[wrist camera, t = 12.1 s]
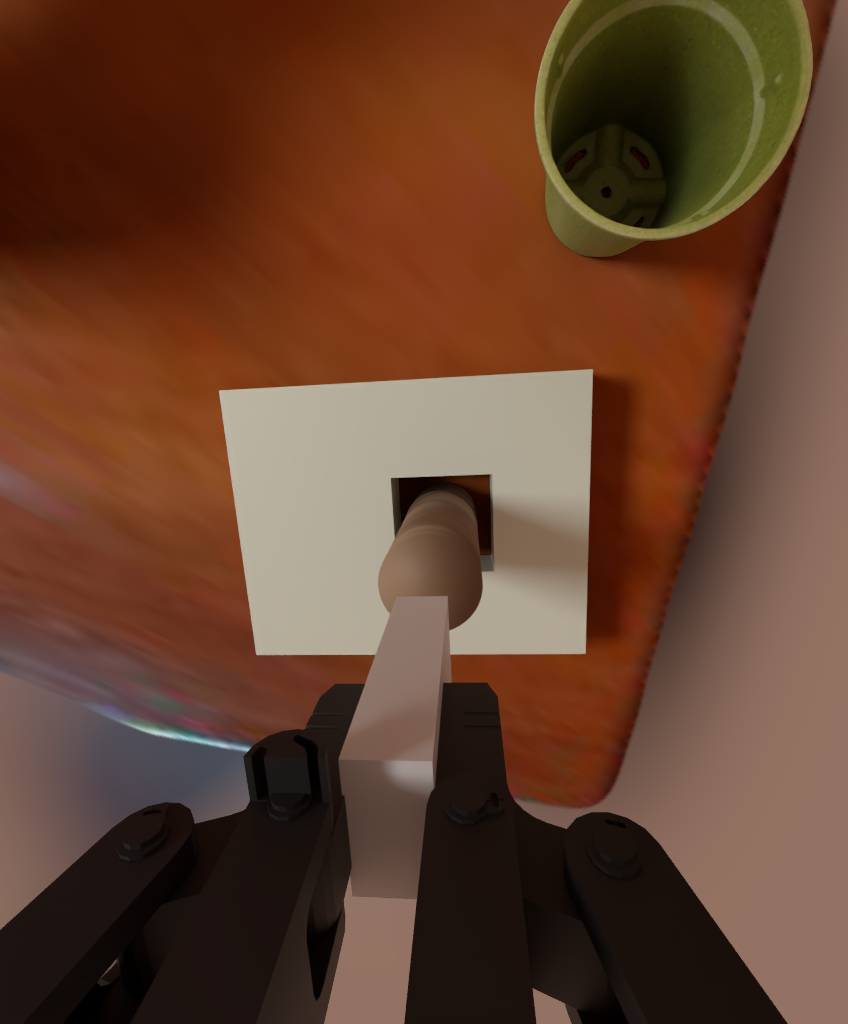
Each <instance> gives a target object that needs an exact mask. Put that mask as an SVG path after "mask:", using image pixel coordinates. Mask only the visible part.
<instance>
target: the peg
mask: <svg viewBox="0 0 848 1024" xmlns="http://www.w3.org/2000/svg"><path fill="white" fill-rule="evenodd" d="M378 588H379V594H380V597H381V600H382V602H383V605H384V606H385V608H386V610H387V611H388V612H389V613H391V611H392V608H393V605H394V602H395V599H396V597H410V596H448V613H449V630H452V629H454V628H456V627H458V626H460V625H462V624H463V623H464V622H466V621H467V620H468V619H469V618H470V617H471V616H472V615H473V613H474V612H475V610H476V609H477V607H478V605H479V603H480V600H481V596H482V591H483V581H482V570H481V560H480V550H479V540H478V520H477V516H476V509H475V504H474V502H473V500H472V498H471V496H470V495H469V493H468V492H467V491H466V490H464V489H463V488H462V487H460V486H458V485H456V484H453V483H449V482H438V483H434V484H431V485H429V486H427V487H425V488H424V489H423V490H422V491H421V492H420V493H419V494H418V495H417V497H416V498H415V500H414V502H413V504H412V505H411V507H410V508H409V510H408V512H407V515H406V518H405V520H404V522H403V524H402V526H401V528H400V529H399V531H398V533H397V535H396V537H395V539H394V541H393V543H392V545H391V547H390V549H389V551H388V553H387V555H386V557H385V559H384V561H383V563H382V565H381V568H380V571H379V577H378Z"/></svg>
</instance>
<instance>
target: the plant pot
mask: <svg viewBox="0 0 848 1024" xmlns="http://www.w3.org/2000/svg"><path fill="white" fill-rule="evenodd" d="M812 71H813V53H812V42H811V37H810V30H809V23H808V18H807V15H806V11H805V8H804V5H803V1H802V0H570V2H569V3H568V5H567V6H566V8H565V9H564V11H563V13H562V14H561V16H560V18H559V20H558V21H557V23H556V25H555V27H554V30H553V32H552V34H551V37H550V39H549V41H548V44H547V47H546V49H545V52H544V55H543V59H542V62H541V66H540V70H539V74H538V79H537V85H536V92H535V104H534V123H535V134H536V140H537V146H538V150H539V154H540V158H541V160H542V163H543V166H544V169H545V171H546V173H547V176H546V191H545V203H546V213H547V217H548V220H549V223H550V226H551V228H552V230H553V232H554V233H555V235H556V236H557V238H558V239H559V240H560V241H561V242H562V243H563V244H564V245H565V246H566V247H568V248H569V249H570V250H572V251H574V252H575V253H578V254H580V255H583V256H591V257H608V256H614V255H617V254H620V253H622V252H625V251H626V250H628V249H630V248H632V247H634V246H636V245H638V244H640V243H642V242H644V241H646V240H648V241H656V240H667V239H673V238H678V237H682V236H686V235H689V234H692V233H695V232H697V231H700V230H702V229H704V228H706V227H708V226H710V225H712V224H714V223H716V222H718V221H719V220H721V219H723V218H724V217H726V216H727V215H729V214H730V213H732V212H733V211H735V210H736V209H738V208H739V207H740V206H742V205H743V204H744V203H745V202H746V201H747V200H749V199H750V198H751V197H752V196H753V195H754V194H755V193H756V192H757V191H758V190H759V189H760V188H761V187H762V185H763V184H764V183H765V182H766V181H767V180H768V179H769V178H770V176H771V175H772V174H773V172H774V171H775V170H776V168H777V167H778V165H779V164H780V163H781V161H782V159H783V158H784V156H785V154H786V153H787V151H788V149H789V147H790V145H791V143H792V141H793V139H794V137H795V135H796V132H797V130H798V128H799V126H800V123H801V121H802V118H803V115H804V112H805V108H806V105H807V101H808V97H809V92H810V87H811V79H812ZM633 147H636V148H637V149H638V150H639V151H640V152H641V153H642V154H643V155H644V156H645V157H646V158H647V160H648V162H649V168H648V169H644V168H643V166H642V165H641V164H640V162H639V161H638V160H637V159H636V157H635V156H634V155H633V154H632V153H630V148H633ZM581 150H586V151H587V152H586V155H585V156H583V157H582V158H581V159H580V160H579V161H578V162H576V163H575V165H574V166H573V167H572V169H571V170H570V171H569V172H568V173H566V172H565V166H566V163H567V162H568V161H569V160H570V159H571V158H572V157H573V156H574V155H575V154H576V153H577V152H579V151H581ZM605 187H608V188H609V189H610V190H611V195H610V197H609V198H604V197H603V196H602V193H601V191H602V189H603V188H605ZM641 217H644V218H643V223H642V225H641V226H640V228H637V227H632V226H633V225H634V224H636V222H637V221H638V220H640V218H641Z"/></svg>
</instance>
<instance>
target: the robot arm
mask: <svg viewBox="0 0 848 1024" xmlns="http://www.w3.org/2000/svg"><path fill="white" fill-rule="evenodd" d="M244 764H245V770H246V776H247V783H248V789H249V796H250V802H249V804H248V806H247V808H246V809H245V810H243V811H241V812H238V813H235V814H232V815H229V816H225V817H221V818H217V819H213V820H209V821H205V822H201V823H197V824H195V823H194V819H193V817H192V813H191V810H190V809H189V808H187V807H185V806H184V805H182V804H181V803H168V802H165V803H161V804H156V805H152V806H148V807H146V808H144V809H142V810H140V811H137V812H135V813H133V814H131V815H129V816H128V817H127V818H125V819H124V820H123V821H122V822H120V823H119V824H117V825H116V826H114V827H113V828H112V829H111V830H110V831H109V832H108V833H106V835H104V836H103V837H102V838H101V839H100V840H99V841H98V842H97V843H95V844H94V845H93V846H92V847H91V848H90V849H89V850H88V851H87V852H86V853H84V854H83V855H82V856H81V857H80V858H79V859H78V860H77V861H76V862H75V863H73V864H72V865H71V866H70V867H69V868H68V869H67V870H66V871H65V872H64V873H63V874H61V875H60V876H59V877H58V878H57V879H56V880H55V881H54V882H53V883H52V884H50V885H49V886H48V887H47V888H46V889H45V890H44V891H43V892H42V893H40V894H39V895H38V896H37V897H36V898H35V899H34V900H33V901H32V902H30V903H29V904H28V905H27V906H26V907H25V908H24V909H23V910H22V911H21V912H20V913H19V914H17V915H16V916H15V917H14V918H13V919H12V920H11V921H10V922H9V923H7V924H6V925H5V926H4V927H3V928H2V929H1V930H0V1024H324V1021H325V1016H326V1012H327V1008H328V1003H329V999H330V994H331V990H332V986H333V981H334V977H335V972H336V968H337V964H338V959H339V954H340V950H341V946H342V941H343V937H344V933H345V911H344V897H345V892H346V888H347V884H348V880H349V876H351V886H352V895H353V896H359V897H382V898H404V899H417V904H416V914H415V924H414V934H413V944H412V953H411V963H410V973H409V983H408V993H407V1003H406V1013H405V1023H404V1024H536V1016H535V1007H534V998H533V989H532V988H534V989H536V990H538V991H540V992H542V993H544V994H546V995H548V996H550V997H553V998H555V999H557V1000H559V1001H561V1002H563V1003H565V1005H566V1009H567V1012H568V1015H569V1018H570V1020H571V1023H572V1024H787V1022H786V1021H785V1019H784V1018H783V1017H782V1015H781V1014H780V1012H779V1011H778V1010H777V1008H776V1007H775V1005H774V1004H773V1002H772V1001H771V1000H770V999H769V997H768V995H767V994H766V993H765V991H764V990H763V988H762V987H761V986H760V984H759V983H758V981H757V980H756V979H755V977H754V976H753V974H752V973H751V972H750V970H749V969H748V967H747V966H746V965H745V963H744V962H743V960H742V959H741V958H740V956H739V955H738V953H737V952H736V951H735V949H734V948H733V946H732V945H731V944H730V942H729V941H728V939H727V938H726V936H725V935H724V934H723V932H722V931H721V930H720V928H719V927H718V925H717V924H716V922H715V921H714V920H713V918H712V917H711V916H710V914H709V913H708V911H707V910H706V908H705V907H704V906H703V904H702V903H701V901H700V900H699V899H698V897H697V896H696V894H695V893H694V892H693V890H692V889H691V888H690V886H689V885H688V883H687V882H686V881H685V879H684V878H683V876H682V875H681V873H680V872H679V871H678V869H677V868H676V866H675V865H674V863H673V862H672V861H671V859H670V858H669V857H668V855H667V854H666V852H665V851H664V850H663V848H662V847H661V845H660V844H659V843H658V842H657V841H656V840H655V839H654V838H653V836H651V834H650V833H649V832H648V831H647V830H646V829H645V828H643V827H641V826H640V825H638V824H637V823H635V822H633V821H632V820H630V819H628V818H625V817H622V816H619V815H616V814H612V813H608V812H598V813H597V812H591V813H589V814H586V815H583V816H581V817H578V818H576V819H575V820H574V822H573V823H572V824H571V825H570V826H569V827H568V828H567V829H565V828H562V827H558V826H555V825H552V824H549V823H546V822H544V821H541V820H539V819H537V818H535V817H533V816H531V815H530V814H529V813H527V812H526V811H524V810H523V809H522V808H521V807H520V806H519V805H518V804H517V803H516V802H515V800H514V799H513V797H512V795H511V794H510V792H509V789H508V785H507V779H506V770H505V761H504V751H503V742H502V733H501V724H500V716H499V705H498V696H497V695H496V694H495V693H494V691H493V690H492V689H491V687H490V686H489V685H488V684H487V683H451V660H450V636H449V613H448V596H410V597H396V599H395V602H394V605H393V608H392V611H391V613H390V616H389V619H388V622H387V625H386V627H385V630H384V633H383V636H382V639H381V641H380V644H379V647H378V650H377V653H376V655H375V658H374V661H373V664H372V667H371V669H370V672H369V675H368V678H367V681H366V683H365V684H335V685H334V686H332V687H331V688H330V689H329V690H328V691H327V692H326V693H324V694H323V695H322V696H321V697H320V699H319V701H318V703H317V705H316V707H315V709H314V711H313V715H312V716H311V717H310V719H309V721H308V723H307V725H306V729H304V730H300V729H296V730H288V731H282V732H279V733H276V734H273V735H270V736H268V737H266V738H264V739H263V740H261V741H260V742H258V743H256V744H255V745H253V746H252V748H251V749H250V750H249V751H248V752H247V753H246V754H245V756H244ZM115 960H116V961H117V962H116V963H115V965H114V966H113V967H112V968H111V969H110V970H109V971H108V972H107V973H106V974H105V975H104V976H103V977H102V975H103V974H104V973H105V972H106V971H107V969H108V968H109V967H110V966H111V965H112V963H113V962H114V961H115Z"/></svg>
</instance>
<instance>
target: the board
mask: <svg viewBox="0 0 848 1024" xmlns="http://www.w3.org/2000/svg"><path fill="white" fill-rule="evenodd" d="M592 388H593V369H589V370H572V371H555V372H537V373H520V374H502V375H485V376H467V377H450V378H432V379H415V380H398V381H380V382H363V383H345V384H328V385H310V386H293V387H275V388H258V389H241V390H223V391H219V394H220V401H221V408H222V415H223V423H224V430H225V437H226V444H227V451H228V458H229V465H230V472H231V479H232V486H233V493H234V500H235V507H236V514H237V521H238V529H239V536H240V543H241V550H242V557H243V564H244V571H245V578H246V585H247V592H248V599H249V606H250V613H251V620H252V627H253V634H254V642H255V649H256V655H376V653H377V650H378V647H379V644H380V641H381V639H382V636H383V633H384V630H385V627H386V625H387V622H388V619H389V616H390V613H389V612H388V611H387V610H386V608H385V606H384V605H383V602H382V600H381V597H380V594H379V588H378V577H379V571H380V568H381V565H382V563H383V561H384V559H385V557H386V555H387V553H388V551H389V549H390V547H391V545H392V543H393V541H394V539H395V537H396V535H397V533H398V531H399V529H400V528H401V526H402V524H401V509H400V493H399V478H405V477H431V476H457V475H483V474H490V512H491V555H480V560H481V570H482V581H483V591H482V596H481V600H480V603H479V605H478V607H477V609H476V610H475V612H474V613H473V615H472V616H471V617H470V618H469V619H468V620H467V621H466V622H464V623H463V624H462V625H460V626H458V627H456V628H454V629H452V630H449V636H450V654H586V618H587V580H588V542H589V503H590V465H591V426H592Z"/></svg>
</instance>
